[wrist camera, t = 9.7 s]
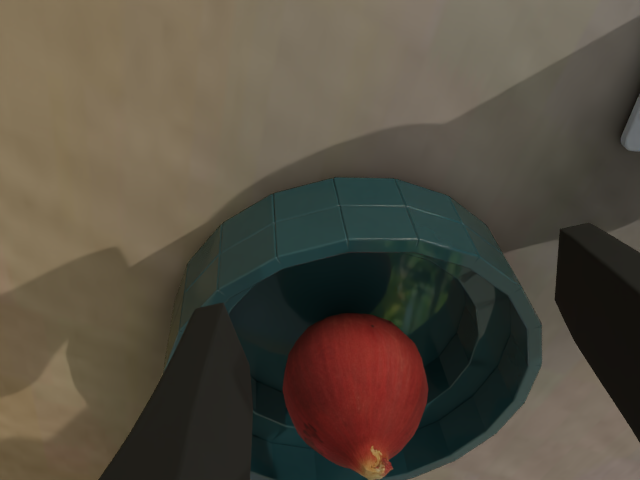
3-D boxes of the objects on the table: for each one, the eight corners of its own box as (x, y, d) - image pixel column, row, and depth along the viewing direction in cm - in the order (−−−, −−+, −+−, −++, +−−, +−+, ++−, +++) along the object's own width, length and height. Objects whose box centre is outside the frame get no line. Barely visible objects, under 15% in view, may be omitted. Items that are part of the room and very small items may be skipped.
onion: (361, 374, 29) (393, 534, 22) (258, 343, 27) (260, 508, 20) (428, 296, 26) (486, 453, 20) (319, 254, 24) (344, 414, 18)
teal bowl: (545, 174, 23) (599, 239, 20) (462, 408, 32) (488, 483, 29) (162, 167, 21) (144, 238, 18) (187, 418, 30) (178, 499, 27)
